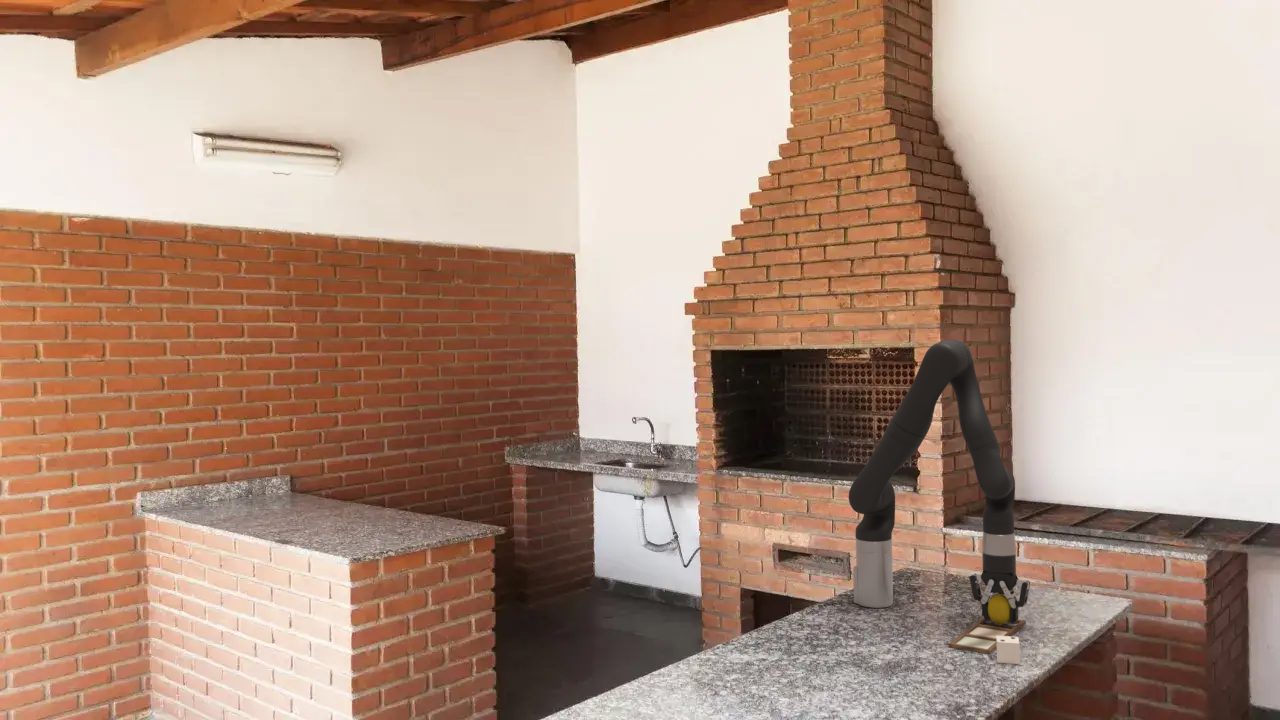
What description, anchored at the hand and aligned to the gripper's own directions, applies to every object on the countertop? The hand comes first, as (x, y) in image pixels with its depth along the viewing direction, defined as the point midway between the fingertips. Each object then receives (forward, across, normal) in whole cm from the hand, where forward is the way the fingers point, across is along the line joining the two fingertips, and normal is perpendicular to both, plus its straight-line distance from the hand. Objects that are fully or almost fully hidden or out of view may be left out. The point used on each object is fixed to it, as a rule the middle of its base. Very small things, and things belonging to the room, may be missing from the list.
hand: (1000, 620), depth 238 cm
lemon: (+1, 0, 0) cm, 1 cm away
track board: (+1, 0, -8) cm, 8 cm away
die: (+1, +9, -23) cm, 25 cm away
